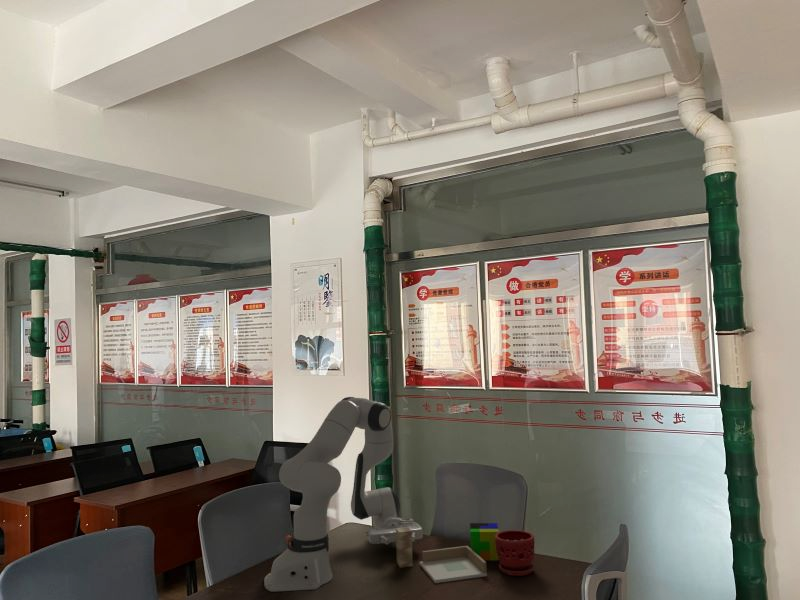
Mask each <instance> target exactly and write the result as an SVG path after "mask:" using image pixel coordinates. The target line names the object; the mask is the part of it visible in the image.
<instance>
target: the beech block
mask: <svg viewBox="0 0 800 600" xmlns="http://www.w3.org/2000/svg"><path fill="white" fill-rule="evenodd" d="M395 545H396V564H397V565H398V567H399V568H409V567H413V566H414V565H413V542H412V531H411V530H410V529H409V528H408V527H405V528H396V542H395Z"/></svg>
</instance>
